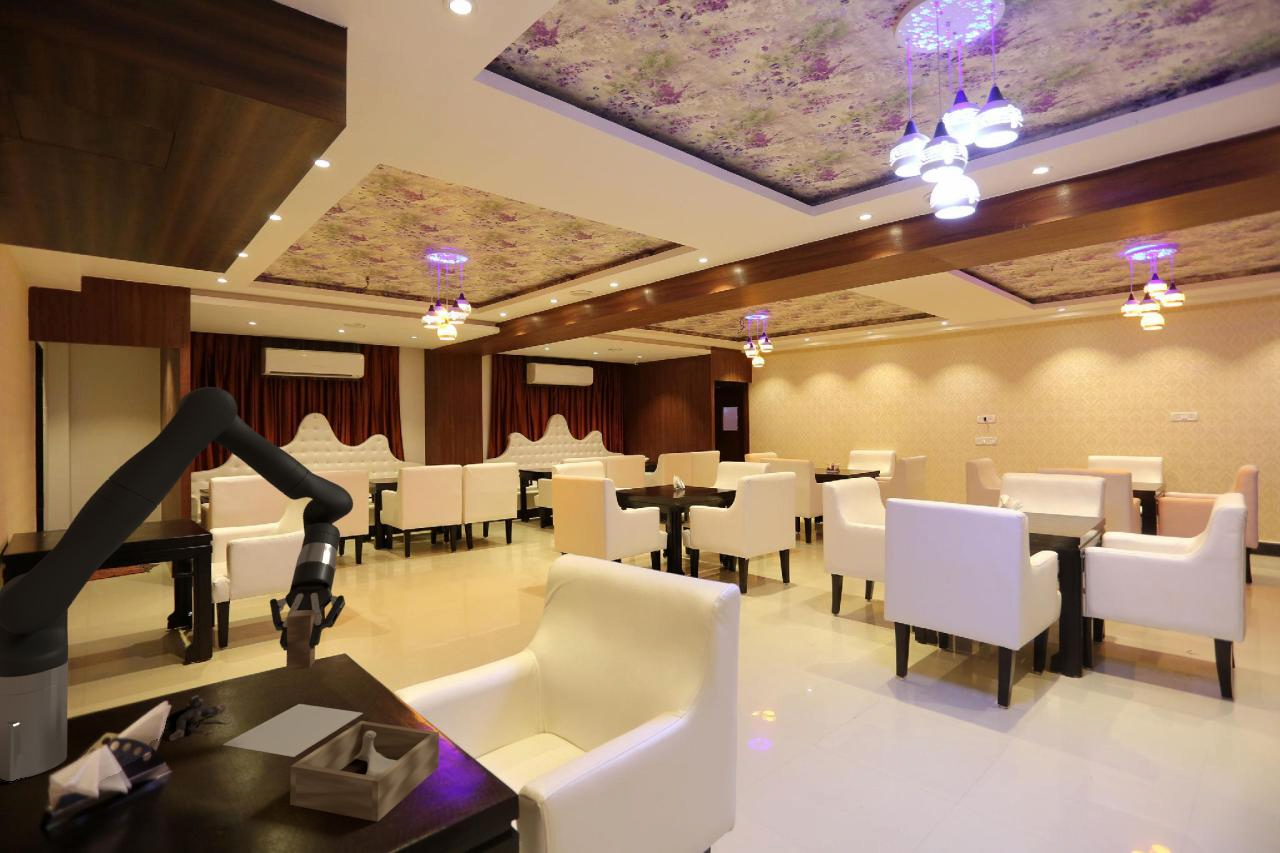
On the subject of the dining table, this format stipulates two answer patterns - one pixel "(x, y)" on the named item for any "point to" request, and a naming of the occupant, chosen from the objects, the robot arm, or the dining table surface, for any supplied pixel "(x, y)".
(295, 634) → the walnut block
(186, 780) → the dining table surface
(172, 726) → the dark grey knobby piece
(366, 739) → the bone
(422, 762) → the bone crate
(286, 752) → the mat
